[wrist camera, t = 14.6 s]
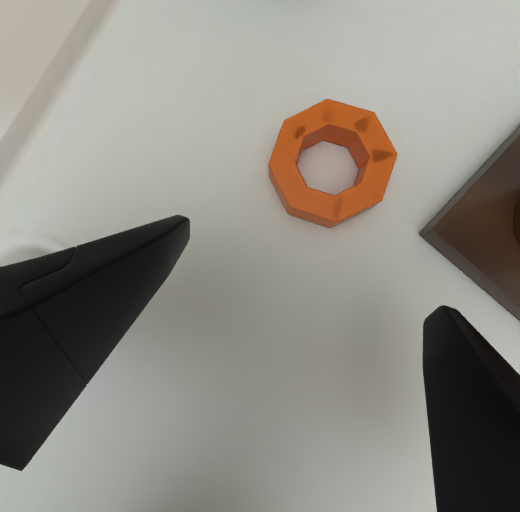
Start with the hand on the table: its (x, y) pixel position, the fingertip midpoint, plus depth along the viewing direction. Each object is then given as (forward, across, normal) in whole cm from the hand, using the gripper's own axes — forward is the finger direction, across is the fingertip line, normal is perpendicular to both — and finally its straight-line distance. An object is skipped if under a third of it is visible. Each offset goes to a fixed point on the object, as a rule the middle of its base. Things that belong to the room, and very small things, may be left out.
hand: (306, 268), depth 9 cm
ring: (+9, 0, 0) cm, 9 cm away
